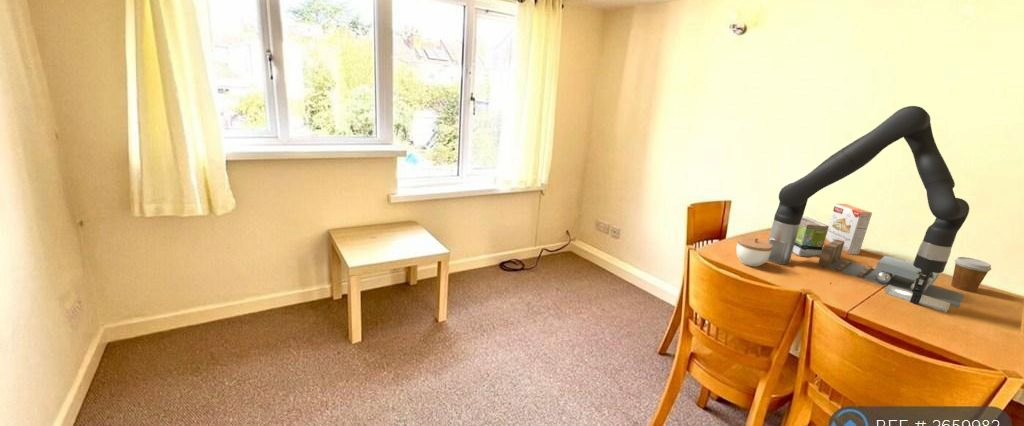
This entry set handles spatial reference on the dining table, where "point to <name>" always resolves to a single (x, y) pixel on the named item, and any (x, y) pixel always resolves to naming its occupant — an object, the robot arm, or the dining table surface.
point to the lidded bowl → (753, 251)
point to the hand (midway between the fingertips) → (915, 301)
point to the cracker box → (848, 227)
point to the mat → (901, 283)
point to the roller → (924, 299)
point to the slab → (900, 268)
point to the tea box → (810, 237)
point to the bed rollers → (888, 278)
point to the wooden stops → (837, 257)
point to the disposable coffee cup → (969, 273)
